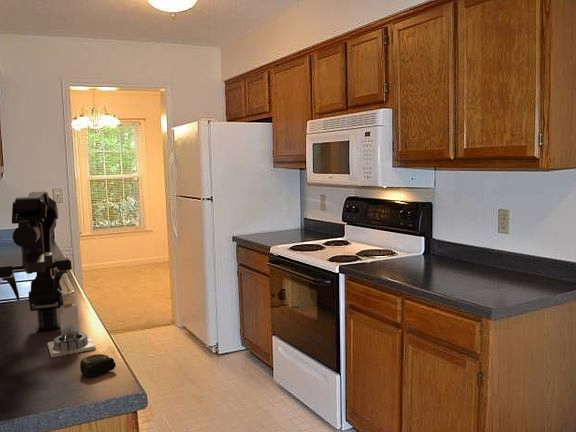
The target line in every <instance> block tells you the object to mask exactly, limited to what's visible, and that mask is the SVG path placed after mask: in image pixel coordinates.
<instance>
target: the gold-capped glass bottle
mask: <svg viewBox="0 0 576 432" xmlns="http://www.w3.org/2000/svg"><path fill="white" fill-rule="evenodd" d="M63 303H64V305H62V306H60V308H59V318H60V321H59V322H60V326H61V328H60V332H61V333H60V334H61V335H60V336H62V341H73V340H77V339H80V337H79V333H80V323H79V322H80V321H79V309H78V304H77V303H73V298H72V297H66V298H63Z"/></svg>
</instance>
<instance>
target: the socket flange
mask: <svg viewBox="0 0 576 432" xmlns="http://www.w3.org/2000/svg"><path fill="white" fill-rule="evenodd" d="M79 337H80V339H77V340H73V341H62V336H61V335H58V336H56V337H55V338H54V339H53V341H48V342H47V348H48V351H49V355H50V359H53V358H58V356H59V357H64V356H68V355H67V354H69V355H73V353H75V354H79V352H80V353H84V351H86V352H89V351H90V350H91V351H95V349H96V348H97V347H96V344H95V343H94V341H93V339H92V337H91V336H90V335H89V334H87V333H84V332H79ZM96 350H97V349H96ZM91 351H90V352H91ZM63 355H64V356H63ZM52 357H53V358H52Z"/></svg>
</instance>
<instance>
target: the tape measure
mask: <svg viewBox="0 0 576 432" xmlns="http://www.w3.org/2000/svg"><path fill="white" fill-rule="evenodd" d="M116 367H117V363H116V362H115V359H114V358H113V357H109V355H107V354H103V353H97V354H90V355H88V356H86V357H83V358H81V360H80V362H79V368H80V372H81V374H82V375H83V376H86V377H88V378H89V377H95V376H96V375H97V376H100V375H101V374H102V375H103V374H104V373H107V372H110V371H113V370H114V369H115V368H116ZM99 374H100V375H99Z"/></svg>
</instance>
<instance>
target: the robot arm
mask: <svg viewBox="0 0 576 432" xmlns="http://www.w3.org/2000/svg"><path fill="white" fill-rule="evenodd" d="M57 220H59V209H58V205H57V202H56V200H54V199H53V198H51V197H50V196H49V192H47V191H32V192H29V193H28V196H25V197H23V196H21V197H16V198H15V200H14V201H13V202H12V209H11V224H12V225H13V224H14V225H15V224H17V225H18V226H17V227H16V228H15V229H14V231H12V232H13V233H12V240H13V243H14V244H15V245H17V247H20V248H21V249H20V250H21V261H22V262H21V263H22V265H15V266H14V265H13V263H3V264H0V279H1V280H2V281H4V282H5V281H6V282H7V283H8V285H10V287H11V290H12V291H13V293H14V296H15V298H16V300H17V301H18V302H19V301H20V294H19V289H18V286H17V281H16V277H15V274H19V273H26V274H27V275H28V274H29V275H30V274H31V275H33V273H34V274H35V273H36V275H35V278H34V279H32V280H31V282H30V291H28V303H29V309H30V312H35V311H36V317H37V318H36V320H37V324H36V325H35V328H36V331H37V333H39V332H44V331H51V330H52V331H53V330H59V329H61V323H60V321H59V319H58V309H60V306H62V305H64V297H63V292H61V290H60V288H59V286H60V284H59V283H60V281H61V279H62V277H63V276H64V274H67V272H68V271H70V270H72V269H73V268H72V261H71V259H70V258H68V257H59V258H54V260H53V254H52V233H53V231H54V230H55V229H56V227H57Z"/></svg>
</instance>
